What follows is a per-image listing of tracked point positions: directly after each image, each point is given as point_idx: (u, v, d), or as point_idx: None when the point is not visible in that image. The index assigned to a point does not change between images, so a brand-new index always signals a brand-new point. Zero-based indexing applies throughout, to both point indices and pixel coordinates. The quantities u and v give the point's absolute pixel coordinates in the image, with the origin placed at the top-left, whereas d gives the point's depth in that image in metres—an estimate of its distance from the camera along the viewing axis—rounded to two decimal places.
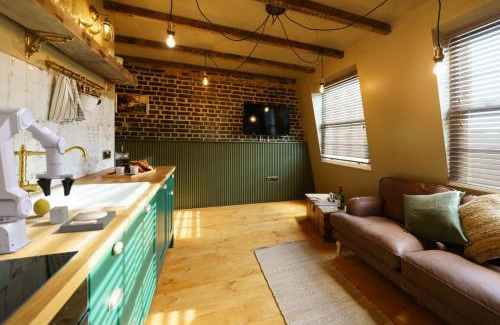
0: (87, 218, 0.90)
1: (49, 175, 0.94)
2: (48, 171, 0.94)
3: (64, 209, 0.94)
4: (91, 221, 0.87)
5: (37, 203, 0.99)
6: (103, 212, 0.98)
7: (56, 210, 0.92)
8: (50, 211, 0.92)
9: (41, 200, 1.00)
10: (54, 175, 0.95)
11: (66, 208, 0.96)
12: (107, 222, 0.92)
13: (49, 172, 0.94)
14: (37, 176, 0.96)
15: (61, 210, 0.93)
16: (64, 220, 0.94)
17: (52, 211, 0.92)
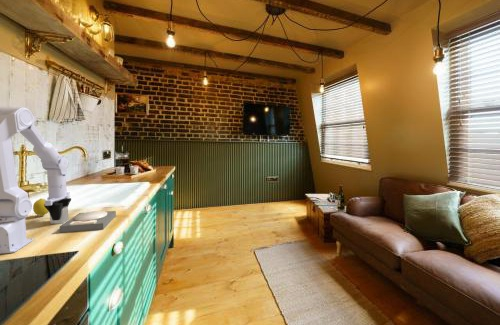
0: (87, 218, 0.90)
1: None
2: None
3: (64, 209, 0.94)
4: (91, 221, 0.87)
5: (37, 203, 0.99)
6: (103, 212, 0.98)
7: None
8: None
9: (41, 200, 1.00)
10: (48, 197, 0.92)
11: (66, 208, 0.96)
12: (107, 222, 0.92)
13: None
14: None
15: (61, 210, 0.93)
16: (64, 220, 0.94)
17: None
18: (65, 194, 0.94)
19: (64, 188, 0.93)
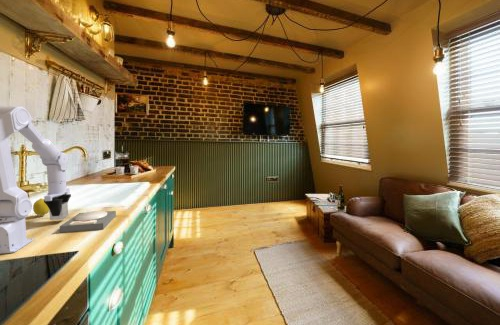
0: (87, 218, 0.90)
1: None
2: None
3: (64, 205, 0.94)
4: (91, 221, 0.87)
5: (37, 203, 0.99)
6: (103, 212, 0.98)
7: None
8: None
9: (41, 200, 1.00)
10: (48, 193, 0.92)
11: (66, 204, 0.96)
12: (107, 222, 0.92)
13: None
14: None
15: (61, 206, 0.92)
16: (64, 216, 0.94)
17: None
18: (65, 190, 0.94)
19: (64, 184, 0.93)
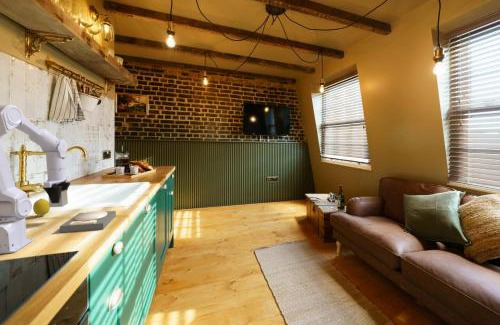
0: (87, 218, 0.90)
1: None
2: None
3: (63, 192, 0.94)
4: (91, 221, 0.87)
5: (37, 203, 0.99)
6: (103, 212, 0.98)
7: None
8: None
9: (41, 200, 1.00)
10: (47, 180, 0.91)
11: (65, 192, 0.95)
12: (107, 222, 0.92)
13: None
14: None
15: (60, 193, 0.92)
16: (63, 203, 0.93)
17: None
18: (64, 177, 0.93)
19: (63, 171, 0.93)
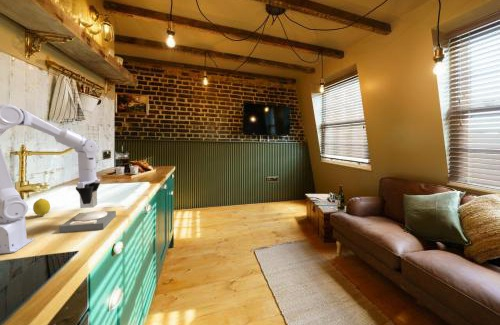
0: (87, 218, 0.90)
1: None
2: None
3: (94, 193, 0.93)
4: (91, 221, 0.87)
5: (37, 203, 0.99)
6: (103, 212, 0.98)
7: None
8: None
9: (41, 200, 1.00)
10: None
11: (95, 192, 0.95)
12: (107, 222, 0.92)
13: None
14: None
15: (91, 194, 0.92)
16: (94, 204, 0.93)
17: None
18: (95, 178, 0.93)
19: (94, 171, 0.92)
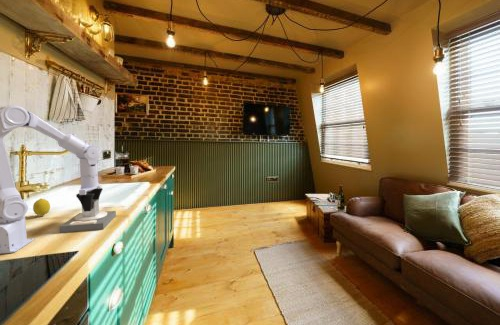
0: (87, 218, 0.90)
1: None
2: None
3: (96, 202, 0.93)
4: (91, 221, 0.87)
5: (37, 203, 0.99)
6: (103, 212, 0.98)
7: None
8: None
9: (41, 200, 1.00)
10: None
11: (97, 201, 0.95)
12: (107, 222, 0.92)
13: None
14: None
15: (93, 203, 0.92)
16: (96, 213, 0.93)
17: None
18: (97, 184, 0.93)
19: (96, 178, 0.93)
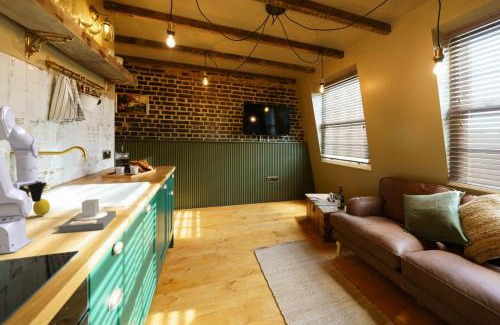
0: (87, 218, 0.90)
1: None
2: None
3: (96, 202, 0.93)
4: (91, 221, 0.87)
5: (37, 203, 0.99)
6: (103, 212, 0.98)
7: (88, 203, 0.91)
8: (82, 204, 0.91)
9: (41, 200, 1.00)
10: (16, 181, 0.84)
11: (97, 201, 0.95)
12: (107, 222, 0.92)
13: None
14: None
15: (93, 203, 0.92)
16: (96, 213, 0.93)
17: (85, 204, 0.91)
18: (36, 178, 0.86)
19: (34, 171, 0.85)
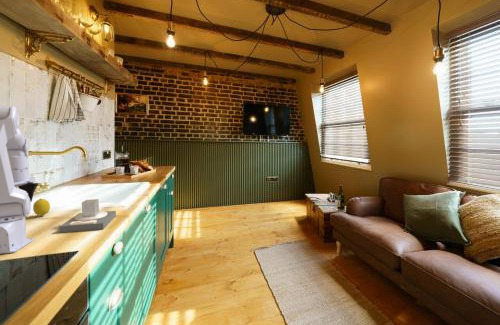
0: (87, 218, 0.90)
1: None
2: None
3: (96, 202, 0.93)
4: (91, 221, 0.87)
5: (37, 203, 0.99)
6: (103, 212, 0.98)
7: (88, 203, 0.91)
8: (82, 204, 0.91)
9: (41, 200, 1.00)
10: None
11: (97, 201, 0.95)
12: (107, 222, 0.92)
13: None
14: None
15: (93, 203, 0.92)
16: (96, 213, 0.93)
17: (85, 204, 0.91)
18: (27, 178, 0.85)
19: (26, 172, 0.85)
